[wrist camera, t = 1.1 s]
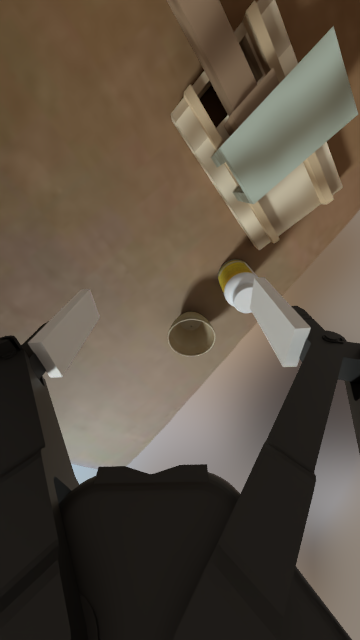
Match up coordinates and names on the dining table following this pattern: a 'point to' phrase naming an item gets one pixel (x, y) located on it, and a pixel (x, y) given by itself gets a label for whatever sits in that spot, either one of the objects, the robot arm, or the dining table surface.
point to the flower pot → (191, 335)
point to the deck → (293, 183)
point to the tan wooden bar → (222, 58)
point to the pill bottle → (237, 284)
